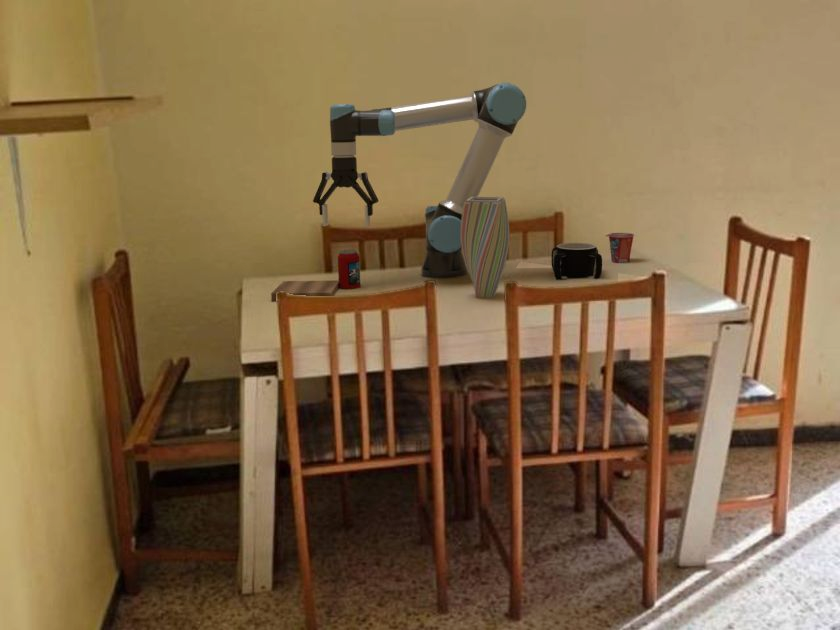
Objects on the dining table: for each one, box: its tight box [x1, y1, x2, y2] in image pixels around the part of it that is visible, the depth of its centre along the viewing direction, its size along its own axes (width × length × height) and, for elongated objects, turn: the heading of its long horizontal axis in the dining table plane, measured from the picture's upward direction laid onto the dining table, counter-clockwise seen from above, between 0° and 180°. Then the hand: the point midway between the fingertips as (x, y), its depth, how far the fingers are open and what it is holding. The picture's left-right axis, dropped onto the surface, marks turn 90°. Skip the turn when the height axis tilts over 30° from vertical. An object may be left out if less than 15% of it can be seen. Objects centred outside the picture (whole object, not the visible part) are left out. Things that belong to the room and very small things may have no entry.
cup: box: [605, 232, 635, 264], centre depth 298 cm, size 9×8×12 cm
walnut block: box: [270, 279, 340, 303], centre depth 274 cm, size 18×18×3 cm
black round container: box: [550, 242, 603, 281], centre depth 279 cm, size 16×16×12 cm
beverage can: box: [337, 249, 361, 290], centre depth 279 cm, size 7×7×12 cm
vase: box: [460, 196, 510, 299], centre depth 254 cm, size 14×14×30 cm
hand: (346, 226), depth 275 cm, fingers open, 13 cm apart
